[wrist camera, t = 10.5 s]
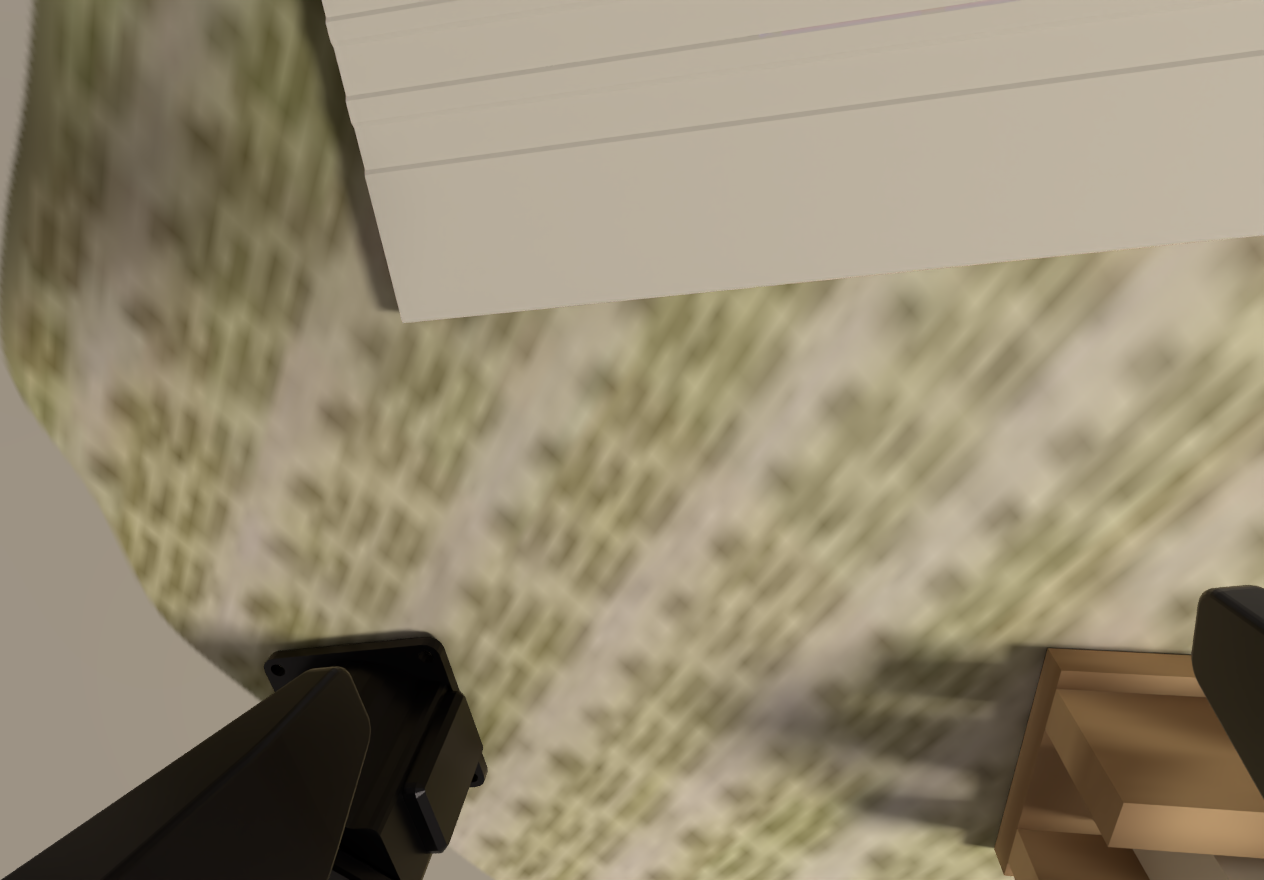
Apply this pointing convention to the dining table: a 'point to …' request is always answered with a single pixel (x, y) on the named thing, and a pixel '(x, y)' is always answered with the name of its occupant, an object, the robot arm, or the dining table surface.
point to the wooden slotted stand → (1123, 772)
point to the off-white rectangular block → (1198, 866)
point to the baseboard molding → (788, 139)
